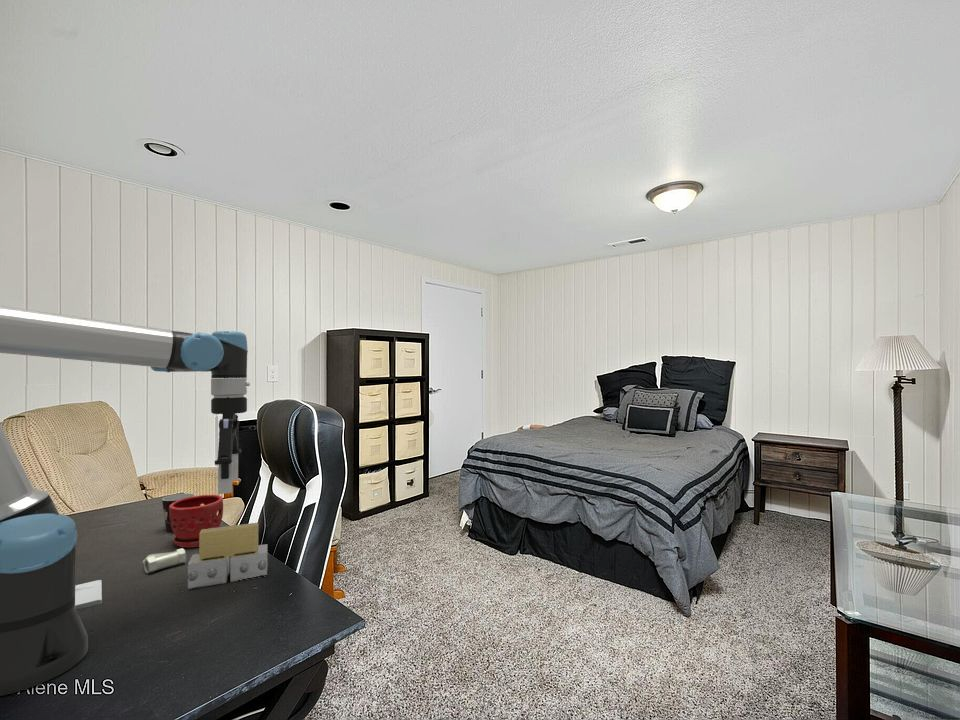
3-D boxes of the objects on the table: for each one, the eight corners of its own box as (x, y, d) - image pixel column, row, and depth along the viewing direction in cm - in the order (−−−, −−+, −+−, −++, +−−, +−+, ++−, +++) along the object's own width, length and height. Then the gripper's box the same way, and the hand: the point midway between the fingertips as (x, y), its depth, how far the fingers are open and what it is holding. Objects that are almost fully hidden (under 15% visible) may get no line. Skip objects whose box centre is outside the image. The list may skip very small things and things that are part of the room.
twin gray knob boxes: (266, 577, 110) (266, 553, 110) (187, 590, 104) (187, 565, 104) (267, 566, 116) (267, 544, 116) (192, 578, 110) (192, 554, 110)
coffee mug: (164, 527, 147) (164, 495, 147) (196, 523, 151) (196, 492, 151) (157, 539, 137) (157, 504, 137) (191, 534, 140) (191, 501, 140)
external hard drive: (48, 620, 93) (53, 597, 103) (102, 606, 98) (101, 585, 108) (48, 611, 93) (53, 589, 103) (102, 598, 98) (101, 578, 108)
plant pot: (175, 538, 137) (175, 497, 138) (226, 532, 142) (226, 492, 142) (163, 554, 125) (163, 508, 125) (219, 547, 130) (219, 503, 130)
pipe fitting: (139, 571, 116) (149, 575, 112) (139, 554, 116) (149, 558, 112) (175, 560, 122) (186, 564, 118) (175, 545, 123) (186, 548, 118)
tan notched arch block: (257, 573, 111) (257, 526, 111) (199, 582, 106) (199, 533, 107) (258, 568, 114) (258, 522, 114) (201, 577, 109) (201, 529, 109)
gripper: (242, 398, 102) (241, 497, 101) (250, 394, 125) (250, 474, 124) (202, 399, 99) (201, 501, 98) (218, 395, 122) (217, 477, 121)
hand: (228, 486), depth 111 cm, fingers open, 13 cm apart
